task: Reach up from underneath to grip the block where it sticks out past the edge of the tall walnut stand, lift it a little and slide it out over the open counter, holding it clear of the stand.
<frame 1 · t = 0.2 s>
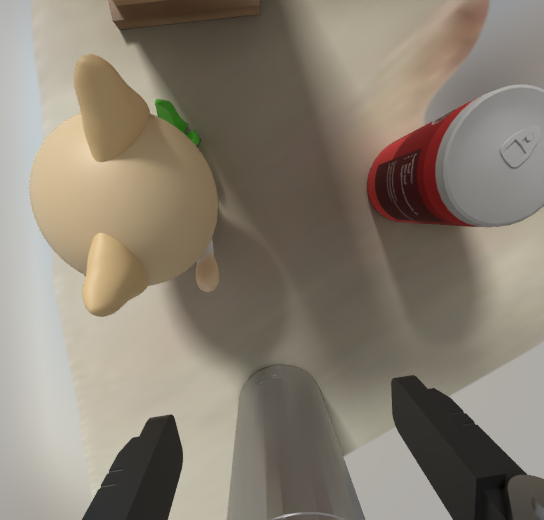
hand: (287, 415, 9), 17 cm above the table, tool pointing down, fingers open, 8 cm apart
kitten: (177, 200, 25), on the table
canned food: (401, 181, 26), on the table
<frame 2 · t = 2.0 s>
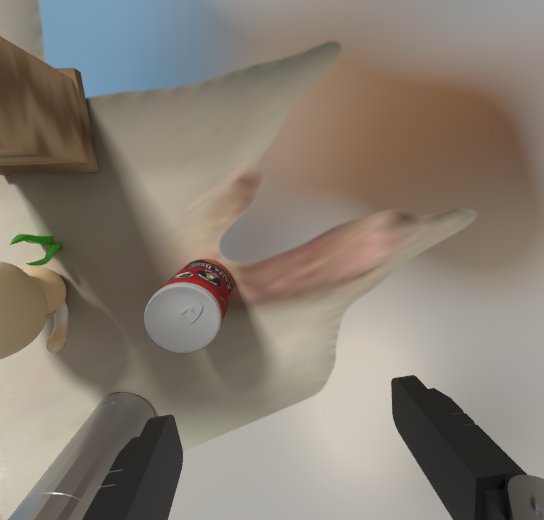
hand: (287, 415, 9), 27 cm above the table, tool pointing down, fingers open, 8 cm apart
stand: (40, 125, 31), on the table
kitten: (49, 282, 37), on the table
canned food: (206, 283, 37), on the table
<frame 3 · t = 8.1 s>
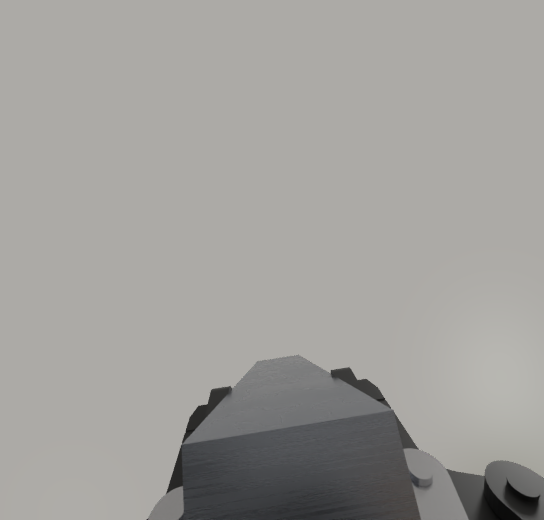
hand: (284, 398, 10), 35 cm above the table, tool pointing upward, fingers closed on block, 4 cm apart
block: (291, 450, 14), point 32 cm above the table, touching gripper, stand
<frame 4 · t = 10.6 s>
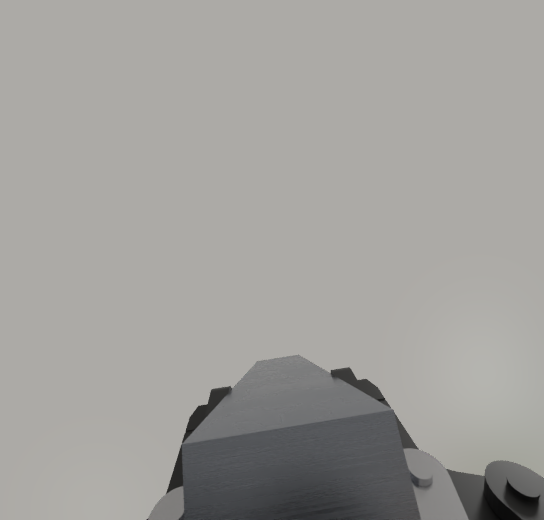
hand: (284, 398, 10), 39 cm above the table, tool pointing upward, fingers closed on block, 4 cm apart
block: (291, 450, 14), point 36 cm above the table, touching gripper
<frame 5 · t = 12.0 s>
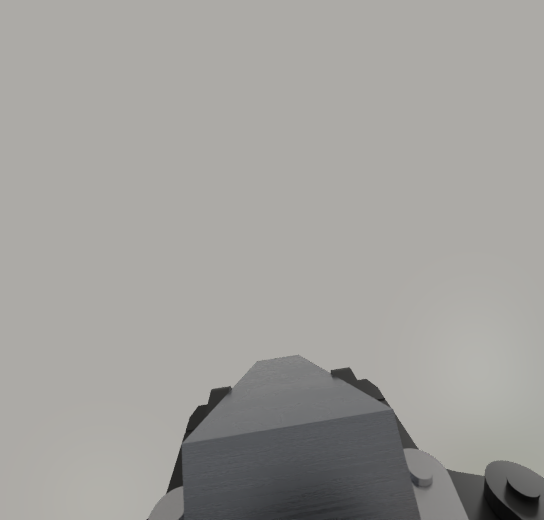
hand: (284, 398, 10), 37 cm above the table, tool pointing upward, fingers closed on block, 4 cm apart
block: (291, 450, 14), point 34 cm above the table, touching gripper
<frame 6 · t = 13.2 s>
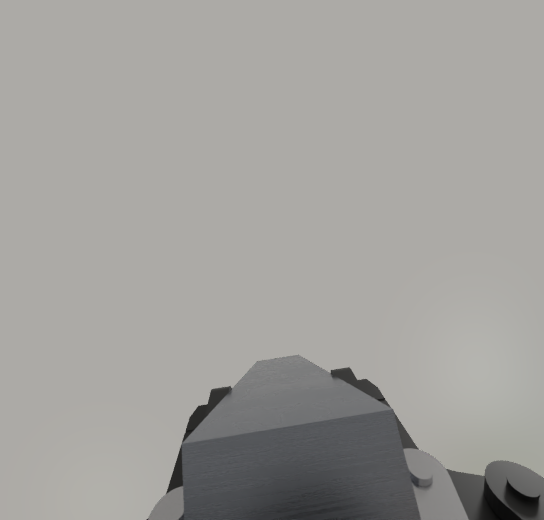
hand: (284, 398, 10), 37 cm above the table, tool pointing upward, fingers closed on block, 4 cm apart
block: (291, 450, 14), point 34 cm above the table, touching gripper
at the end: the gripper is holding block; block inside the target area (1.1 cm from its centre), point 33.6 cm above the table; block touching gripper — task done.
